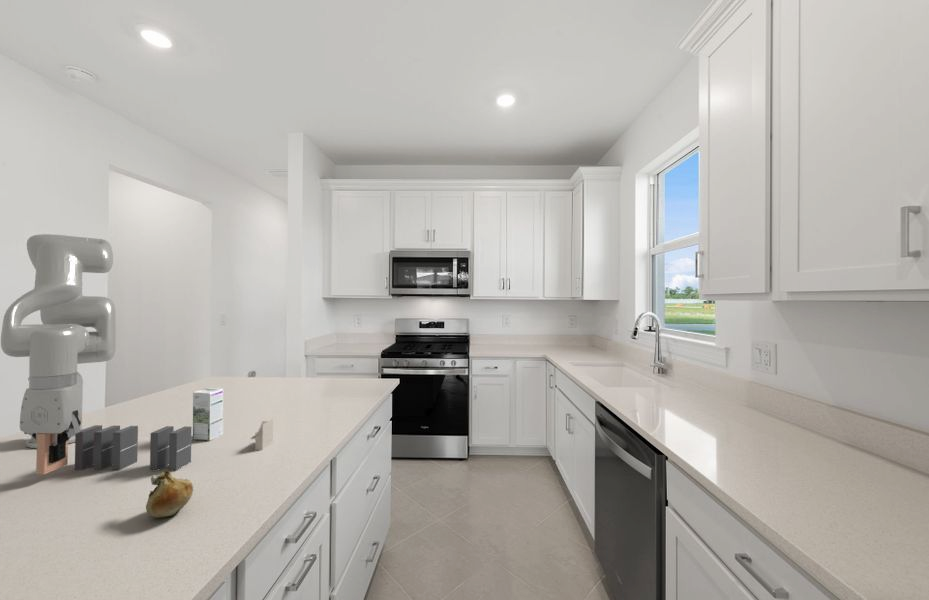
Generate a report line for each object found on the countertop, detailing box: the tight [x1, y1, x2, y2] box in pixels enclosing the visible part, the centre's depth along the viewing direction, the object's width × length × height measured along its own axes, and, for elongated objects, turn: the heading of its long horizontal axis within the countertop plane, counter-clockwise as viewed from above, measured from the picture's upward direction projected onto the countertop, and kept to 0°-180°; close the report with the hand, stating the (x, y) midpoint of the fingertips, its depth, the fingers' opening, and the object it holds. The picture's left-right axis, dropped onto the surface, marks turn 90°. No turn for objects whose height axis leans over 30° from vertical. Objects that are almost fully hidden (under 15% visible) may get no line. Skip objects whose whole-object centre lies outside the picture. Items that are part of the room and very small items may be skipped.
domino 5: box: [149, 425, 175, 471], centre depth 95 cm, size 2×5×9 cm, turn 0°
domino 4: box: [111, 425, 139, 471], centre depth 95 cm, size 2×5×9 cm, turn 0°
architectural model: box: [250, 418, 275, 451], centre depth 110 cm, size 3×7×7 cm, turn 179°
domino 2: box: [74, 424, 103, 471], centre depth 95 cm, size 2×5×9 cm, turn 0°
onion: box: [145, 469, 194, 519], centre depth 74 cm, size 8×8×8 cm
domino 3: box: [93, 425, 121, 471], centre depth 95 cm, size 2×5×9 cm, turn 0°
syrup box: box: [192, 387, 224, 442], centre depth 115 cm, size 6×6×14 cm
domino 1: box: [35, 433, 69, 475], centre depth 88 cm, size 2×5×9 cm, turn 0°
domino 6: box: [168, 426, 192, 471], centre depth 95 cm, size 2×5×9 cm, turn 0°
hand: (52, 459), depth 88 cm, fingers closed on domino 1, 1 cm apart
